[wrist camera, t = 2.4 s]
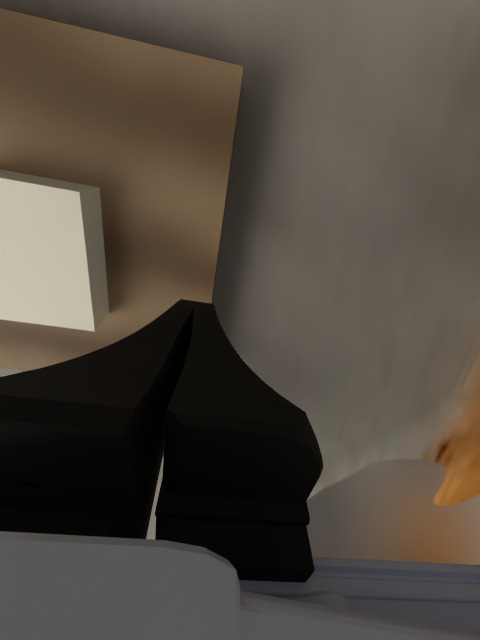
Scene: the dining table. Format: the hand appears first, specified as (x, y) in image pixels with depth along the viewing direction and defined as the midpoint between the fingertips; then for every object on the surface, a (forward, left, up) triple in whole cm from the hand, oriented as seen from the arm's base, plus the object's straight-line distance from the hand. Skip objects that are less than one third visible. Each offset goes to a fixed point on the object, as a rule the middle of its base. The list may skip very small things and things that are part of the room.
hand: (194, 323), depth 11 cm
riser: (0, +8, -8) cm, 11 cm away
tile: (0, +8, -5) cm, 10 cm away
